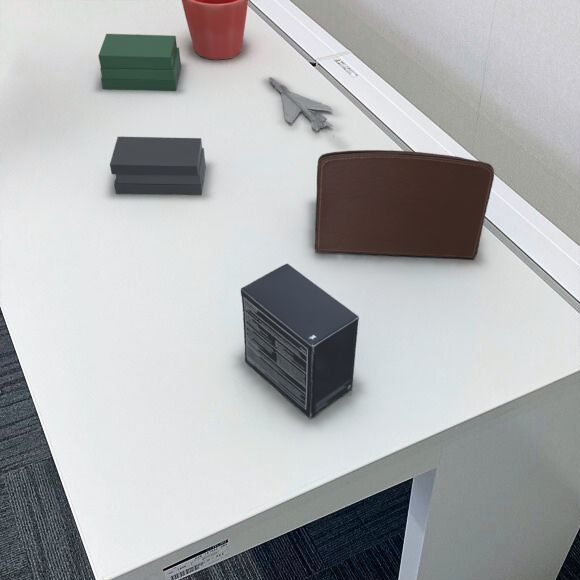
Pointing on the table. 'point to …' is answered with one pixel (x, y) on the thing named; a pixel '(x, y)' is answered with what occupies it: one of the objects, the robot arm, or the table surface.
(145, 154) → the grey book stack
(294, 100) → the toy airplane
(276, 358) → the small box
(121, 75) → the green book stack
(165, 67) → the green book
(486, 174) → the letter holder
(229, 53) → the flower pot
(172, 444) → the table surface
